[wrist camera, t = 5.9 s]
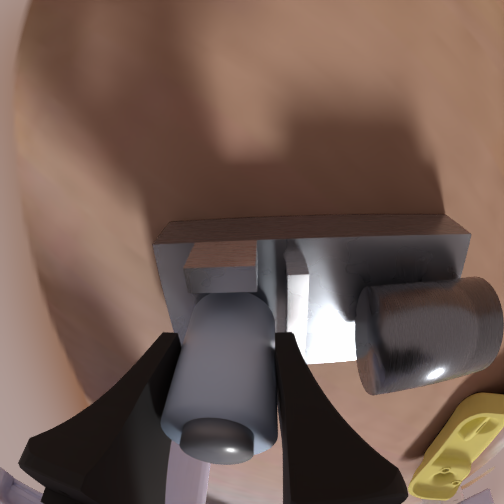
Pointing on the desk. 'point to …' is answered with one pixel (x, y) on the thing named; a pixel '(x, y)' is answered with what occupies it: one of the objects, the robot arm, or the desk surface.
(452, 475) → the plastic component
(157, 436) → the robot arm
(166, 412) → the grey capped cylinder
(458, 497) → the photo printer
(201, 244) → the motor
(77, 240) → the desk surface
